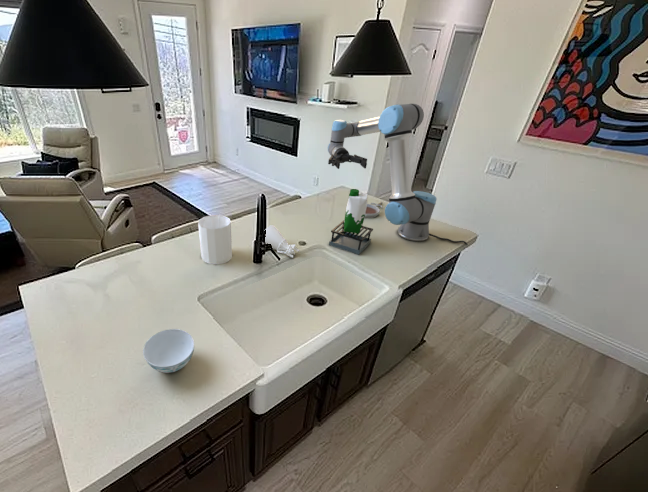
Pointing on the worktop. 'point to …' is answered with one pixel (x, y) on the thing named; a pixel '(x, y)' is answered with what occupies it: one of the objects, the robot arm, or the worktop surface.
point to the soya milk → (355, 211)
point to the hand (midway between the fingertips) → (352, 165)
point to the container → (215, 239)
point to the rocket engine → (279, 241)
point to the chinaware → (169, 350)
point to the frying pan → (372, 210)
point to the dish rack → (350, 239)
